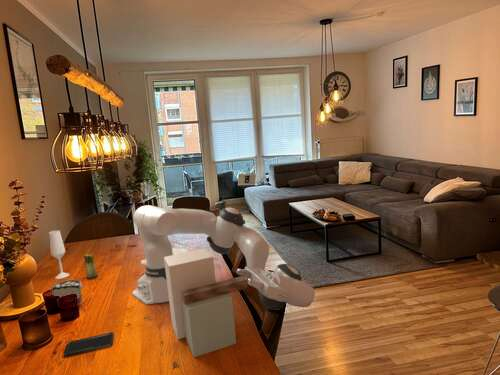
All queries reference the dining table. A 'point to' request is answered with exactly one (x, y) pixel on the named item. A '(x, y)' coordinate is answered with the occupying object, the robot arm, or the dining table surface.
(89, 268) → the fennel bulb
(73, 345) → the phone
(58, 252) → the champagne flute
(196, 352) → the sage base
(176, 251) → the medallion
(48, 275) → the dining table surface
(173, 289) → the white pedestal
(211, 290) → the walnut bar
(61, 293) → the food container
